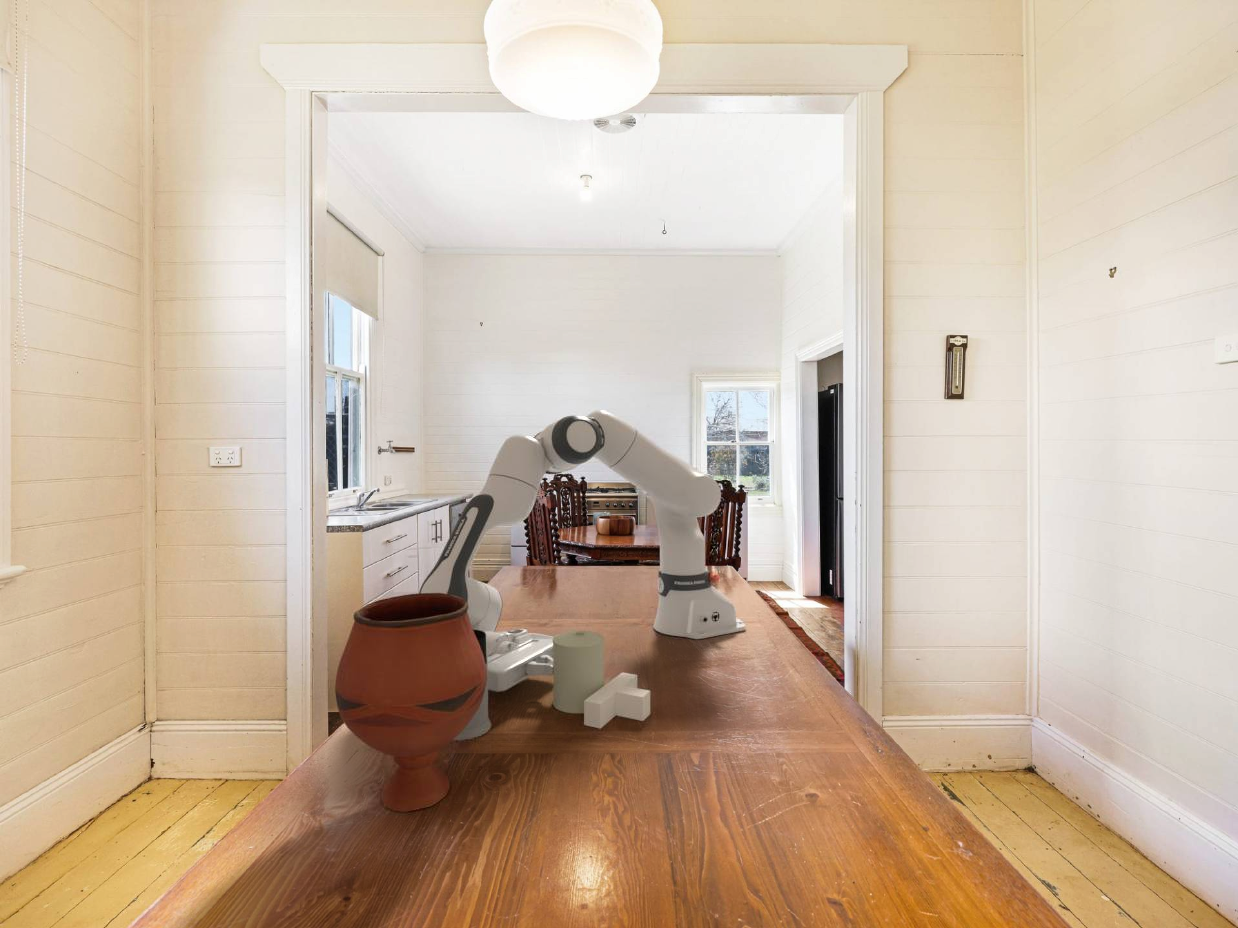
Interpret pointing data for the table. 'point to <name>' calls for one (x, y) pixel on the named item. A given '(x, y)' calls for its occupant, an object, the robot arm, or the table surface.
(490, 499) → the robot arm
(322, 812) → the table surface
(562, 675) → the can
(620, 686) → the T stop
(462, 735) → the glass holder
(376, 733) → the goblet
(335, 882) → the table surface
